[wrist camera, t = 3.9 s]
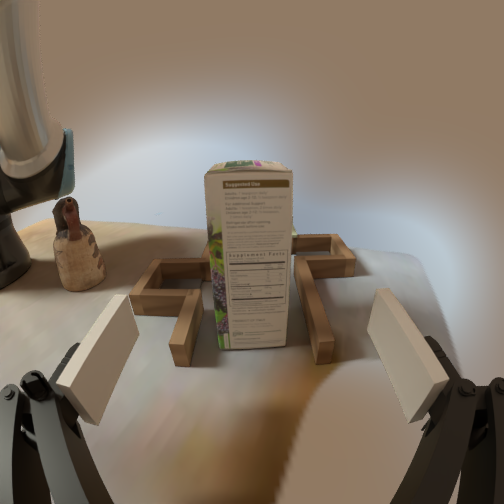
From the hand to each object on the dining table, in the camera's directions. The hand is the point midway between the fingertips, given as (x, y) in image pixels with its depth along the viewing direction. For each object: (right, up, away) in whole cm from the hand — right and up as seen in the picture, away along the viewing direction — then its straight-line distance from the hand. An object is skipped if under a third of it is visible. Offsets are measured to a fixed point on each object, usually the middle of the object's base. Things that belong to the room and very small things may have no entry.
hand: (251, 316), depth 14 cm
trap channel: (0, 0, +18) cm, 18 cm away
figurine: (-24, -1, +20) cm, 31 cm away
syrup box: (0, -4, +11) cm, 12 cm away
